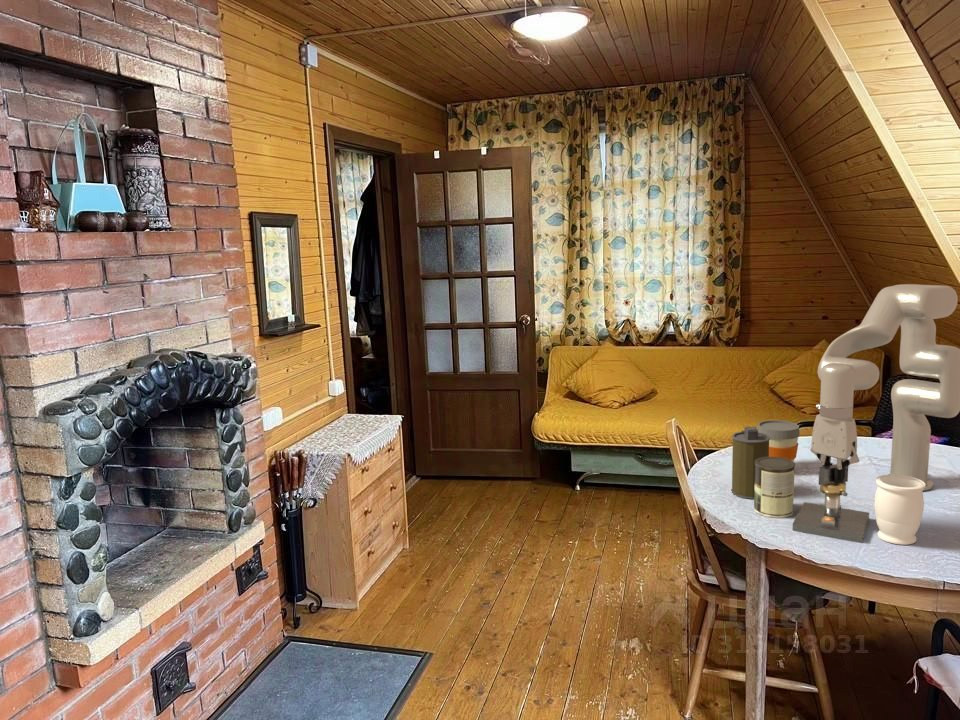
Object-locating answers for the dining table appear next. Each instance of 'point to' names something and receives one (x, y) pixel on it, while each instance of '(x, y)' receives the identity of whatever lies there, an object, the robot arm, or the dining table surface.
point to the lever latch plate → (831, 520)
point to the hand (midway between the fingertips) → (833, 480)
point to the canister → (747, 460)
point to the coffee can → (774, 487)
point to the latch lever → (831, 481)
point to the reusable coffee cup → (781, 438)
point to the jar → (898, 508)
